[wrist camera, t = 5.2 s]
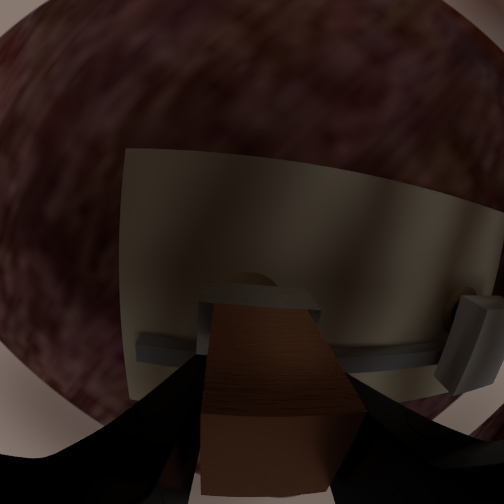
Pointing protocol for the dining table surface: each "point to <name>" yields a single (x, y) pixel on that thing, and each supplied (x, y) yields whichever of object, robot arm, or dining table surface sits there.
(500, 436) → the canned food
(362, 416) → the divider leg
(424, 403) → the dining table surface
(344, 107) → the dining table surface
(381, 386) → the board
